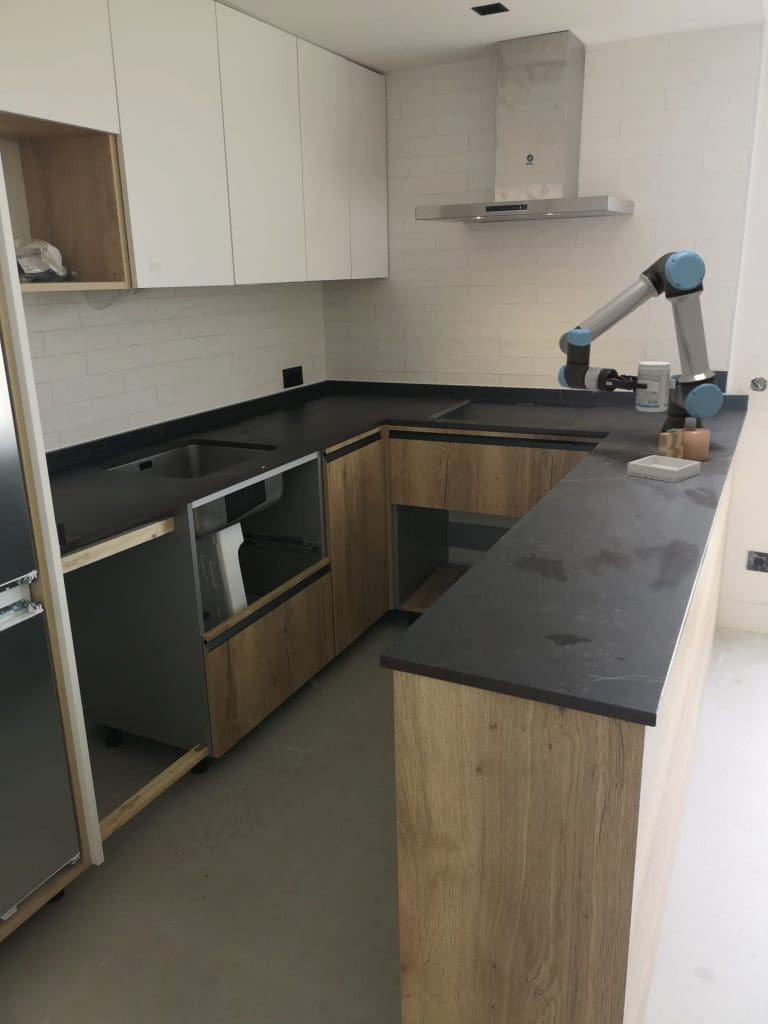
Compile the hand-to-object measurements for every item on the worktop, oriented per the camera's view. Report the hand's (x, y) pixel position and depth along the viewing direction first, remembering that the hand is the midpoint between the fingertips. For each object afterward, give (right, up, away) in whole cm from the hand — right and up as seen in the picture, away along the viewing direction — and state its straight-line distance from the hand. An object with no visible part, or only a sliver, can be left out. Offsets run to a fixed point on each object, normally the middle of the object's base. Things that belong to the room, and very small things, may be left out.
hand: (666, 385), depth 246 cm
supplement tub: (-3, -7, +5) cm, 9 cm away
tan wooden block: (+3, -24, +5) cm, 24 cm away
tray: (-4, -27, -8) cm, 29 cm away
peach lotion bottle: (+12, -21, +12) cm, 27 cm away
